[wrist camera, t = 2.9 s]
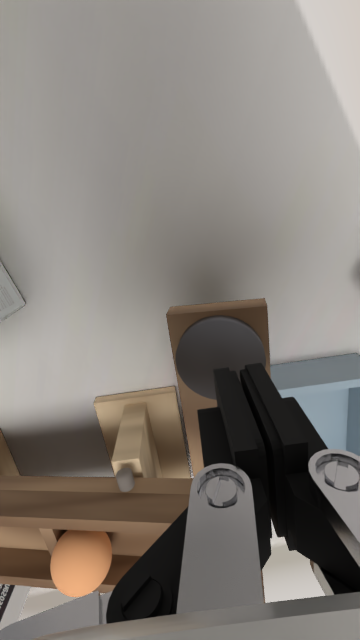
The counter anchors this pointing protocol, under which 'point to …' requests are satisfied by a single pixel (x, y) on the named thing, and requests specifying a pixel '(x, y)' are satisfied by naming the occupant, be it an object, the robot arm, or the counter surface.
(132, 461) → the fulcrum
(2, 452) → the block
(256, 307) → the lever
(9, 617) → the container
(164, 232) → the counter surface
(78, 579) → the ball
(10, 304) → the supplement box
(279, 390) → the dish
